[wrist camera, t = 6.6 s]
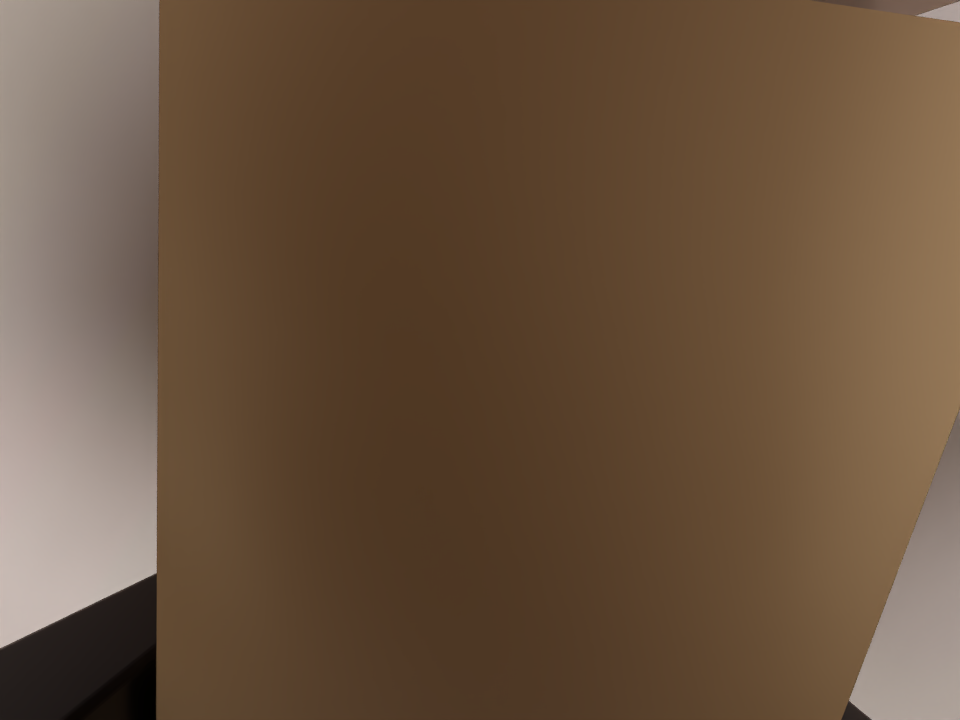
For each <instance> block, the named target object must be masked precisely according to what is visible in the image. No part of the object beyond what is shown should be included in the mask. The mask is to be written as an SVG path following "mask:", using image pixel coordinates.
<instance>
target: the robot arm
mask: <svg viewBox="0 0 960 720" xmlns="http://www.w3.org/2000/svg"><path fill="white" fill-rule="evenodd" d="M156 655H157V573H156V574H154V575H152V576H150V577H148V578H146V579H144V580H141V581H139V582H137V583H135V584H133V585H131V586H129V587H127V588H125V589H123V590H121V591H119V592H117V593H115V594H112V595H110V596H108V597H106V598H104V599H102V600H100V601H98V602H96V603H94V604H92V605H90V606H88V607H85V608H83V609H81V610H79V611H77V612H75V613H73V614H71V615H69V616H67V617H65V618H63V619H61V620H58V621H56V622H54V623H52V624H50V625H48V626H46V627H44V628H42V629H40V630H38V631H36V632H34V633H31V634H29V635H27V636H25V637H23V638H21V639H19V640H17V641H15V642H13V643H11V644H9V645H7V646H4V647H2V648H0V720H156ZM841 720H871V719H870V718H869V717H868V716H866V715H865V714H864V713H863V712H862V711H860V710H859V709H858V708H857V707H856V706H854V705H853V704H852V703H851V702H850V701H848V704H847V706H846V709H845V712H844V714H843V717H842V719H841Z"/></svg>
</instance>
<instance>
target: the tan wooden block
mask: <svg viewBox="0 0 960 720" xmlns="http://www.w3.org/2000/svg"><path fill="white" fill-rule="evenodd" d="M959 409H960V23H959V22H953V21H946V20H939V19H932V18H926V17H919V16H912V15H905V14H899V13H892V12H885V11H878V10H872V9H865V8H858V7H851V6H845V5H838V4H831V3H824V2H817V1H811V0H160V2H159V219H158V437H157V655H156V720H841V719H842V717H843V714H844V712H845V709H846V706H847V704H848V701H849V698H850V696H851V693H852V690H853V688H854V685H855V683H856V680H857V677H858V675H859V672H860V669H861V667H862V664H863V662H864V659H865V656H866V654H867V651H868V648H869V646H870V643H871V640H872V638H873V635H874V633H875V630H876V627H877V625H878V622H879V619H880V617H881V614H882V611H883V609H884V606H885V604H886V601H887V598H888V596H889V593H890V590H891V588H892V585H893V583H894V580H895V577H896V575H897V572H898V569H899V567H900V564H901V561H902V559H903V556H904V554H905V551H906V548H907V546H908V543H909V540H910V538H911V535H912V532H913V530H914V527H915V525H916V522H917V519H918V517H919V514H920V511H921V509H922V506H923V504H924V501H925V498H926V496H927V493H928V490H929V488H930V485H931V482H932V480H933V477H934V475H935V472H936V469H937V467H938V464H939V461H940V459H941V456H942V453H943V451H944V448H945V446H946V443H947V440H948V438H949V435H950V432H951V430H952V427H953V425H954V422H955V419H956V417H957V414H958V411H959Z"/></svg>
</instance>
